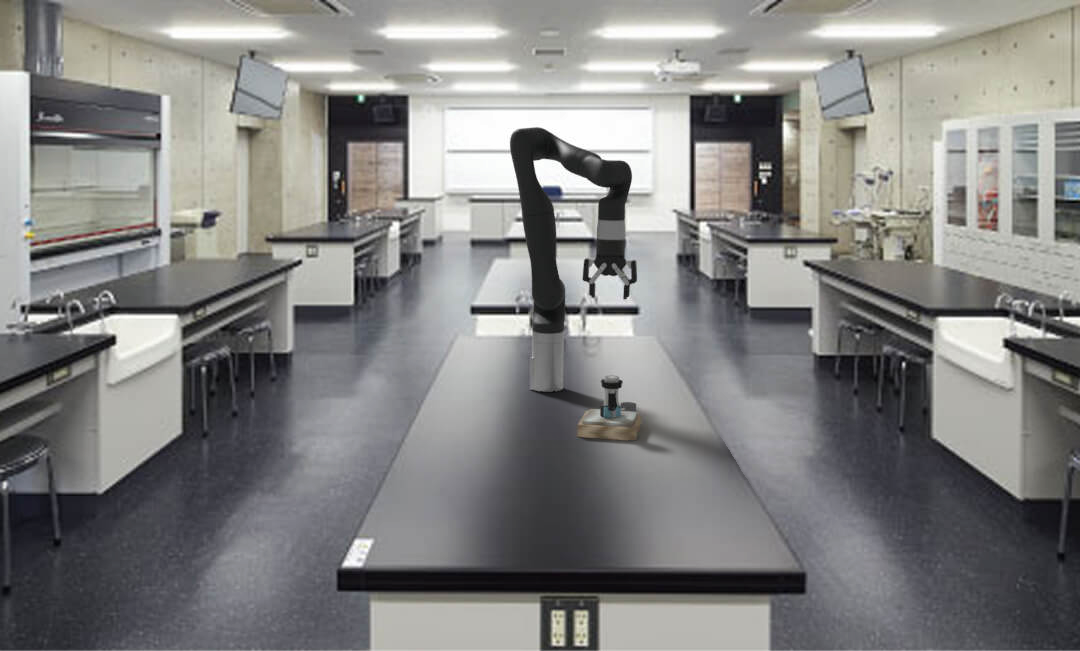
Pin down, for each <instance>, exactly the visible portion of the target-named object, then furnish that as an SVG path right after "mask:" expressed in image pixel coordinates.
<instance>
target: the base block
mask: <svg viewBox="0 0 1080 651" xmlns="http://www.w3.org/2000/svg"><path fill="white" fill-rule="evenodd" d="M621 412H625V413H622V414H621V415H620V416H619V417H611V418H604V417H602V416H600V408H597V409H596V408H589V410H586V411H585V412H584V414H583V415H582V417H581V419H580V421H579V422H578V423H577V432H576V434H577V438H589V439H602V440H603V439H604V440H616V441H618V440H619V441H628V440H635V439H637V437H638V435H637V434H639V432H640V430H641V427H642V414H641V413H638V411H636V412H632V411H621ZM639 429H640V430H639ZM636 436H637V437H636ZM617 439H618V440H617ZM635 441H636V440H635Z"/></svg>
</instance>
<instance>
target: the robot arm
mask: <svg viewBox="0 0 1080 651" xmlns="http://www.w3.org/2000/svg"><path fill="white" fill-rule="evenodd" d="M509 150H510V156H511V161H512V163H513V168H514V173H515V177H516V181H517V187H518V195H519V201H520V207H521V217H522V218H521V220H522V224H523V225H522V226H523V232H524V237H525V238H524V239H525V243H526V247H527V252H528V255H529V261H530V268H531V270H530V271H531V297H532V301H533V313H532V321H531V322H532V324H531V325H532V326H531V327H532V328H531V330H532V331H531V333H532V335H531V338H532V339H531V341H532V342H531V357H530V358H529V390H531V391H537V392H541V391H542V392H543V393H552V392H553V391H555V392H560V391H562V390H563V389H564V386H563V385H564V351H565V350H564V344H565V342H564V341H565V337H564V336H565V334H564V333H565V317H566V287H565V286H566V285H565V284H564V282H563V280H562V279H561V278H560V275H559V269H558V263H557V225H556V224H557V221H556V215H555V207H554V205H553V202H552V201H551V199H550V197H549V196H548V193H547V192H546V191H545V190H544V188H543V186H542V184H540V181H539V180H538V178H537V177H538V176H537V174H536V169H535V162H537V161H540V160H549V161H551V160H552V161H555V162H558V163H560V165H561V166H562V167H563V168H564V169H565V170H566V171H568V172H570V174H573V175H575V176H579V177H582V178H585V179H586V180H587V181H589V182H591V184H593V185H596V186H597V187H600V188H605V189H608V188H609V189H608V193H607V195H606V196H603V197H601V198H600V199H599V201H598V206H597V207H598V209H597V210H598V211H597V226H596V243H595V244H596V246H595V248H596V251H595V252H596V253H595V255H596V256H595V259H592V258H588V257H585V259H583V268H582V269H583V270H582V281H583V282H586V283H588V286H589V287H588V294H589V296H591V298H592V299H595V298H596V283H595V282H596V281H597V279H598V278H599V277H601V275H602V276H605V277H607V276H611V277H616V276H618V277H619V278H620V280H621V281H622V282H623V284H624V285H623V300H627V299H628V298H629V297H630V295H631V294H630V290H631V289H630V287H631V285H633V284H636V282H637V281H638V270H637V268H638V264H637V260H636V259H632V260H627V259H626V254H625V253H626V237H627V236H626V233H627V232H626V223H625V222H626V218H625V217H626V203H627V199H628V197H629V192H630V190H631V185H632V180H633V173H632V169H631V166H630V164H629V163H628V162H626V161H624V160H621V159H619V160H608V159H607V160H606V159H604V158H603V159H602V157H601V156H600V155H598V154H597V153H595V152H593V151H590V150H587V149H585V148H582V147H578V146H576V145H573V144H571V143H570V142H567V141H565V140H564V139H562V138H560V137H558V136H557V135H555V134H553V133H552V132H550V131H549V130H547V129H545V128H542V127H538V126H537V127H533V126H532V127H524V128H517V129H515V130H514V131H513V132H512V133H511V135H510V138H509ZM593 264H594V266H595V267H596V268H597V270H596V271H595V273H594V274H593V275H592V277H590V268H591V267H592V266H593ZM626 266H627V267H628V269H630V272H631V273H630V274H631V277H630V278H628V276H627V274H626V273H625V271H624V268H625V267H626Z"/></svg>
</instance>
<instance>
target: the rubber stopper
mask: <svg viewBox="0 0 1080 651" xmlns="http://www.w3.org/2000/svg"><path fill="white" fill-rule="evenodd" d="M620 406H621V409H623V408H624V410H621V411H632V412H637V403H635V402H631V401H624V402H621V403H620Z"/></svg>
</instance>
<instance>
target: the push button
mask: <svg viewBox="0 0 1080 651" xmlns="http://www.w3.org/2000/svg"><path fill="white" fill-rule="evenodd" d="M623 382H624V381H623V380H622V379H620V376H619V375H609V374H608V375H605V376H604V378H602V379H601V380H600V383H601V388H603V389H604V395H603V396H604V398H603V399H604V400H603V401H604V402H603V405H601V406H600V408H599V409H600V416H602V417H604V418H611V417H619V416H620V415H621V414H622V413H625V412H621V410H624V408H623V409H621V405H619V404H620V403H619V389H621V388H622V387H623Z"/></svg>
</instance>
